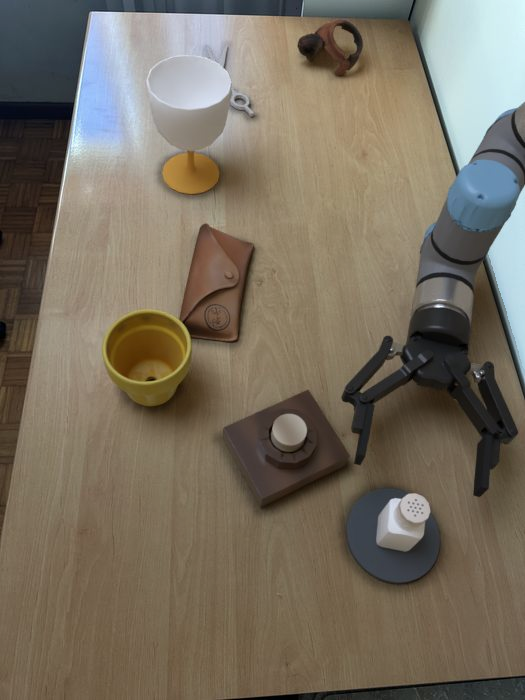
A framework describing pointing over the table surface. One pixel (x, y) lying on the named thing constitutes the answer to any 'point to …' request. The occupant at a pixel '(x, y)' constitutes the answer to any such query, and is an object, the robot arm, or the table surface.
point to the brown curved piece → (331, 44)
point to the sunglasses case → (215, 286)
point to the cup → (189, 116)
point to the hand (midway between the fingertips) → (419, 476)
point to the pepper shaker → (402, 522)
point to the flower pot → (147, 355)
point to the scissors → (234, 93)
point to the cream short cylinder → (288, 432)
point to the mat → (385, 560)
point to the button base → (278, 466)
